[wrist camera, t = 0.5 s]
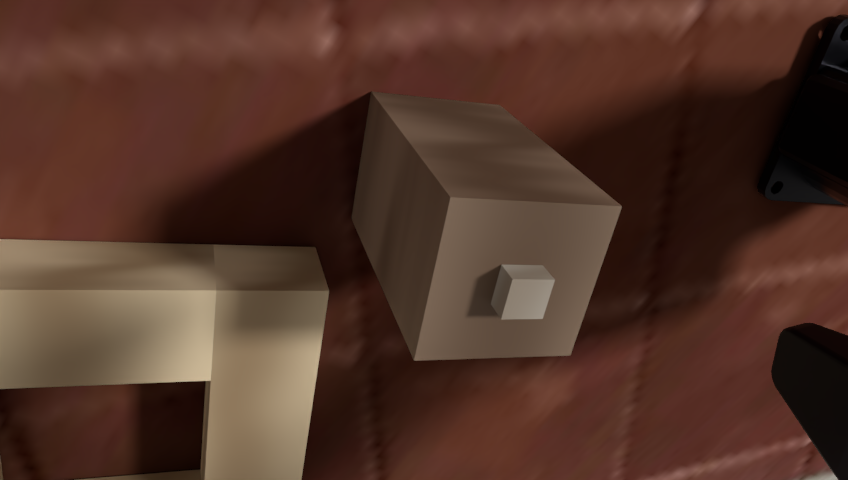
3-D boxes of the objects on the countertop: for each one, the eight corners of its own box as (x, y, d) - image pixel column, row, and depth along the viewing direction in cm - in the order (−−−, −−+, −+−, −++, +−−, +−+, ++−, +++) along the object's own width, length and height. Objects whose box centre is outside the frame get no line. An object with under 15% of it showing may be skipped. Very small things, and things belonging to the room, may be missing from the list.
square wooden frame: (315, 247, 21) (329, 290, 19) (279, 519, 26) (286, 577, 24) (-166, 235, 17) (-215, 289, 15) (-95, 560, 22) (-124, 634, 20)
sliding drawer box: (499, 105, 21) (637, 218, 14) (470, 223, 22) (582, 371, 16) (370, 91, 19) (460, 210, 13) (351, 218, 21) (421, 378, 15)
